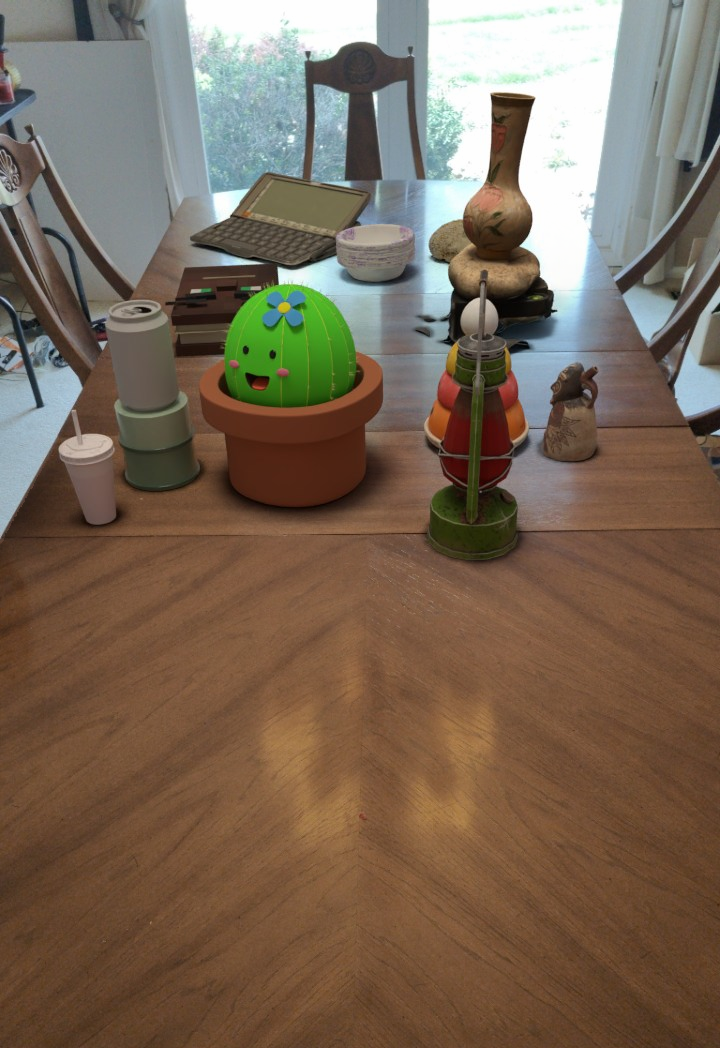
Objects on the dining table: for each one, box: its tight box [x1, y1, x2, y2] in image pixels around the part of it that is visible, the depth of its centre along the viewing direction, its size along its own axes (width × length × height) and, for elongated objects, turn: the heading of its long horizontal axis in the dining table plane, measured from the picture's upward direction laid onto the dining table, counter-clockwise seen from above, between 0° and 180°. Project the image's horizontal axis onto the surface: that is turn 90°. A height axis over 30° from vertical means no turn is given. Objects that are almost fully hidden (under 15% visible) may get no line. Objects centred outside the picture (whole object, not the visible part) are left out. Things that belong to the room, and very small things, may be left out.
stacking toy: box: [423, 298, 530, 449], centre depth 129 cm, size 14×14×20 cm
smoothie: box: [57, 409, 117, 526], centre depth 117 cm, size 6×6×14 cm
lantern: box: [426, 270, 519, 561], centre depth 106 cm, size 14×11×30 cm
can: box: [104, 299, 180, 412], centre depth 120 cm, size 8×8×12 cm
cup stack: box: [113, 390, 201, 492], centre depth 127 cm, size 10×10×10 cm
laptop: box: [189, 171, 372, 266], centre depth 209 cm, size 26×32×10 cm
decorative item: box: [428, 218, 472, 263], centre depth 198 cm, size 12×9×10 cm
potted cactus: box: [198, 279, 384, 508], centre depth 120 cm, size 22×22×25 cm
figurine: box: [541, 361, 599, 462], centre depth 128 cm, size 7×7×12 cm
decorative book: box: [164, 262, 280, 357], centre depth 170 cm, size 19×8×30 cm
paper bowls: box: [336, 223, 416, 283], centre depth 190 cm, size 15×15×8 cm
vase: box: [415, 91, 558, 350], centre depth 158 cm, size 24×22×35 cm
